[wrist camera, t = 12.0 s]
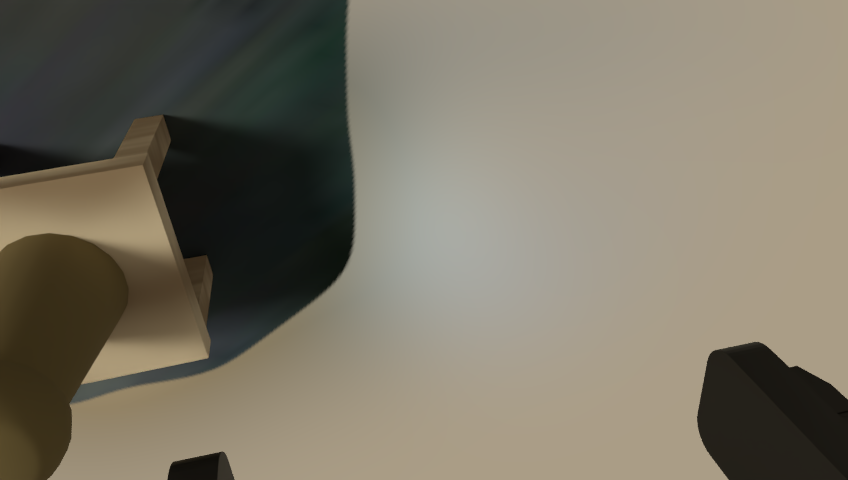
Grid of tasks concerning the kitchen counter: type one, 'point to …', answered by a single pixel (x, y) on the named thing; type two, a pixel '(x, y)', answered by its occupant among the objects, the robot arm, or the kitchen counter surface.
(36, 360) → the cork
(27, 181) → the birch stool
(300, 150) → the kitchen counter surface
